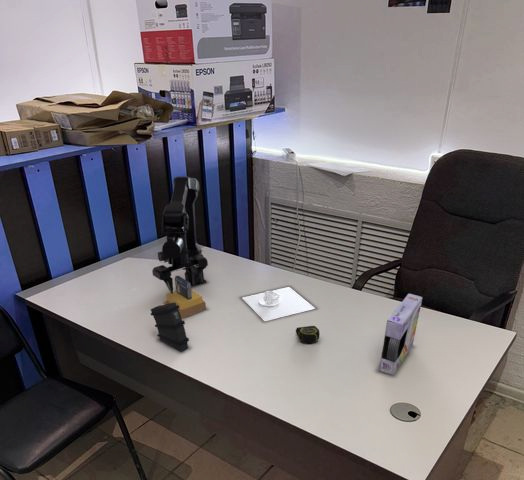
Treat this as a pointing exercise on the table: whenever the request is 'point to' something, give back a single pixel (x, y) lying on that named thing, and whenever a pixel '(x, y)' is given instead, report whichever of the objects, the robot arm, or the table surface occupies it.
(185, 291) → the mini dv tape
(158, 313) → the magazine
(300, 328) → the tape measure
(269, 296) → the white piece
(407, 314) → the cake pan box
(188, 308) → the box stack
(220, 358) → the table surface
